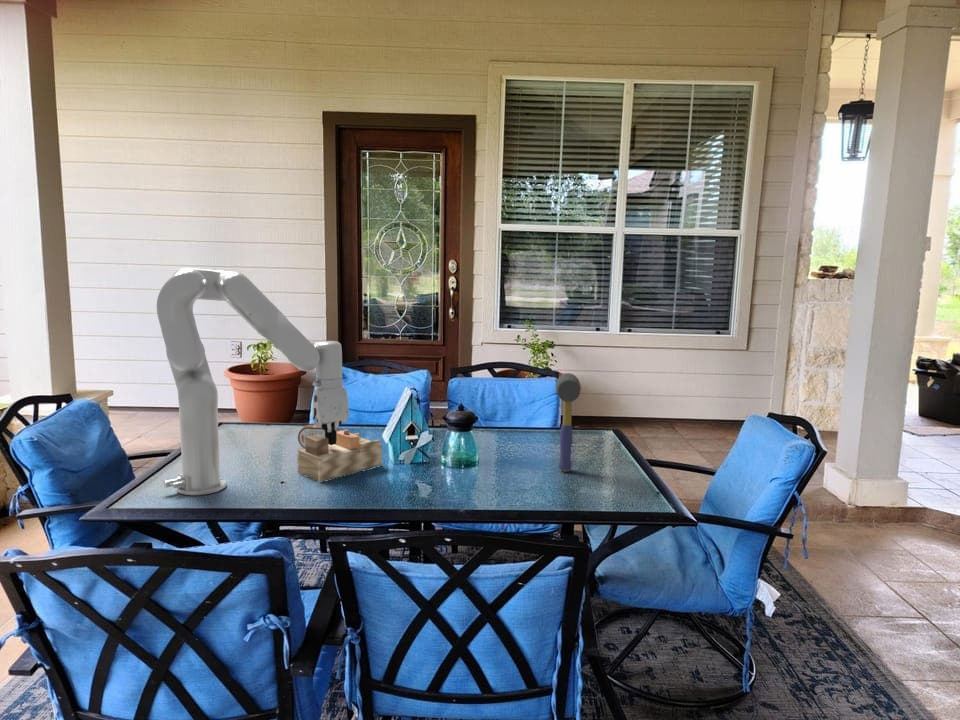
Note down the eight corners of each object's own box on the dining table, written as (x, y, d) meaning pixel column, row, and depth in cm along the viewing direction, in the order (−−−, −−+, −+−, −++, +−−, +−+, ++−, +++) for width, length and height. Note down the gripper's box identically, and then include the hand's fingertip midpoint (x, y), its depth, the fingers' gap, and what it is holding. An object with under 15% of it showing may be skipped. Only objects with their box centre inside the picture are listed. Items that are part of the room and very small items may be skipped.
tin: (343, 449, 220) (343, 425, 219) (341, 452, 217) (340, 427, 216) (300, 447, 221) (299, 423, 220) (296, 450, 218) (296, 425, 217)
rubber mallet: (577, 478, 196) (582, 379, 191) (552, 476, 197) (556, 378, 192) (576, 465, 208) (580, 372, 204) (552, 464, 209) (556, 371, 205)
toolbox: (319, 482, 187) (319, 454, 186) (297, 472, 195) (297, 445, 194) (381, 466, 203) (381, 439, 202) (358, 458, 211) (358, 432, 210)
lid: (319, 462, 187) (319, 443, 186) (298, 453, 194) (297, 435, 194) (359, 452, 196) (358, 435, 195) (336, 444, 204) (336, 427, 203)
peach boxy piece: (351, 449, 196) (351, 434, 195) (334, 443, 202) (333, 428, 201) (359, 447, 198) (359, 432, 197) (342, 441, 204) (342, 426, 203)
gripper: (314, 388, 185) (316, 451, 188) (358, 381, 195) (359, 441, 198) (300, 384, 190) (302, 446, 193) (343, 378, 200) (344, 436, 203)
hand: (331, 443), depth 195 cm, fingers closed
